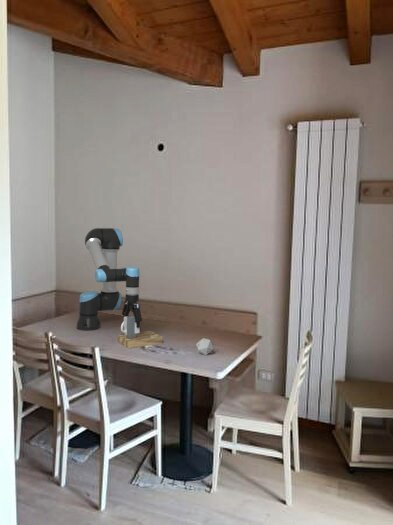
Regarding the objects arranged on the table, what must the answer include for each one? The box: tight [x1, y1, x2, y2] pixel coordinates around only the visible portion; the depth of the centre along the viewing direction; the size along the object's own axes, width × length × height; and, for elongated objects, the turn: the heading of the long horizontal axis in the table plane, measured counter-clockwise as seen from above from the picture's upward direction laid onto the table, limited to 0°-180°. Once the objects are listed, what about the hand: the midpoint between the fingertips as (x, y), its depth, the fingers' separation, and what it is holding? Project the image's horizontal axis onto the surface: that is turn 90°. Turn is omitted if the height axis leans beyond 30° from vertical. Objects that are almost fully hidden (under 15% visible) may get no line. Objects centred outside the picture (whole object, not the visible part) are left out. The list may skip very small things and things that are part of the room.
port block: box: [117, 330, 164, 349], centre depth 274 cm, size 14×22×4 cm, turn 126°
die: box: [195, 337, 214, 356], centre depth 258 cm, size 8×9×10 cm
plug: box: [127, 315, 136, 339], centre depth 270 cm, size 4×4×16 cm
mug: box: [120, 321, 127, 335], centre depth 290 cm, size 12×8×10 cm
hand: (131, 330), depth 270 cm, fingers open, 13 cm apart
